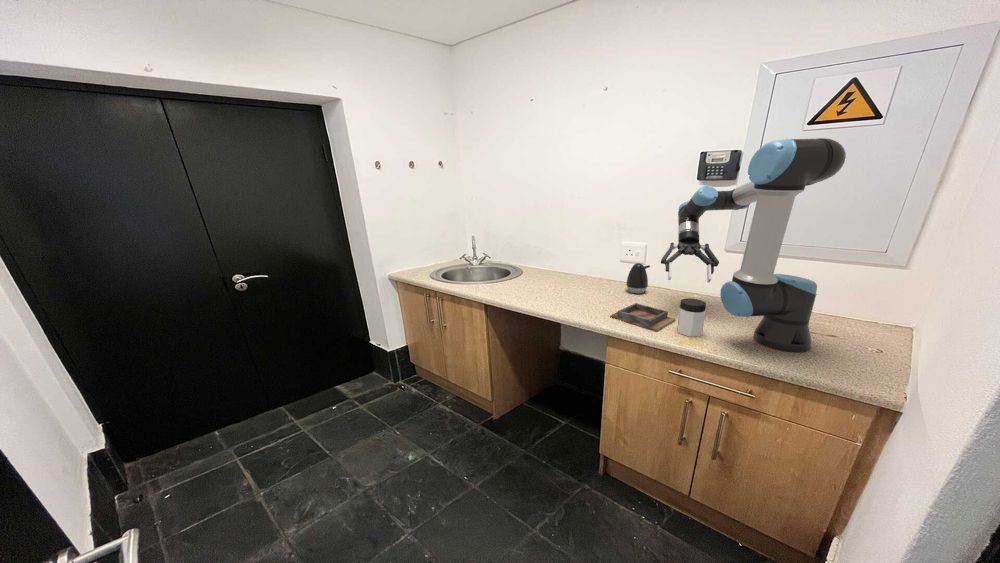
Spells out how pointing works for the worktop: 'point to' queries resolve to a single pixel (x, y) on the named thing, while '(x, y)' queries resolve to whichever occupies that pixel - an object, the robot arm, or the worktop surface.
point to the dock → (644, 317)
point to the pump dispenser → (637, 279)
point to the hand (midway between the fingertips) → (689, 279)
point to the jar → (691, 317)
